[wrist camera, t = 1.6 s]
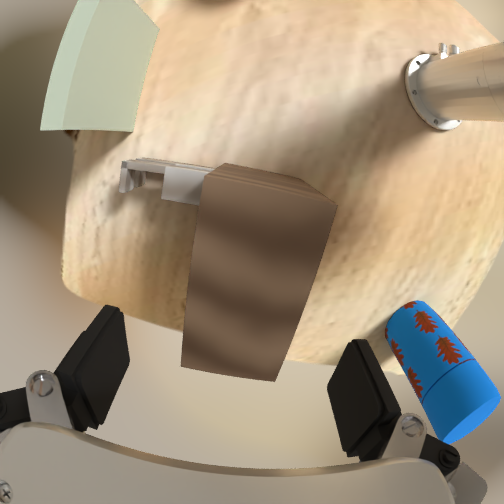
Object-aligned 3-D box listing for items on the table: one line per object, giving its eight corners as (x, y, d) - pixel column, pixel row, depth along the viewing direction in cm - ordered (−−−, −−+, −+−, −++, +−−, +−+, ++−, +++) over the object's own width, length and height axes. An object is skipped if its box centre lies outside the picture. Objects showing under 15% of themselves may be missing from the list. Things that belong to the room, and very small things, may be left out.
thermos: (384, 310, 42) (452, 422, 19) (432, 291, 41) (511, 382, 18) (384, 352, 46) (433, 454, 23) (428, 334, 45) (486, 421, 22)
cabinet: (145, 151, 33) (77, 159, 18) (300, 179, 34) (337, 205, 19) (134, 275, 39) (87, 339, 25) (267, 302, 41) (274, 381, 26)
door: (134, 30, 25) (79, -15, 10) (159, 29, 26) (111, -23, 11) (109, 130, 31) (33, 130, 16) (133, 131, 31) (61, 129, 17)
